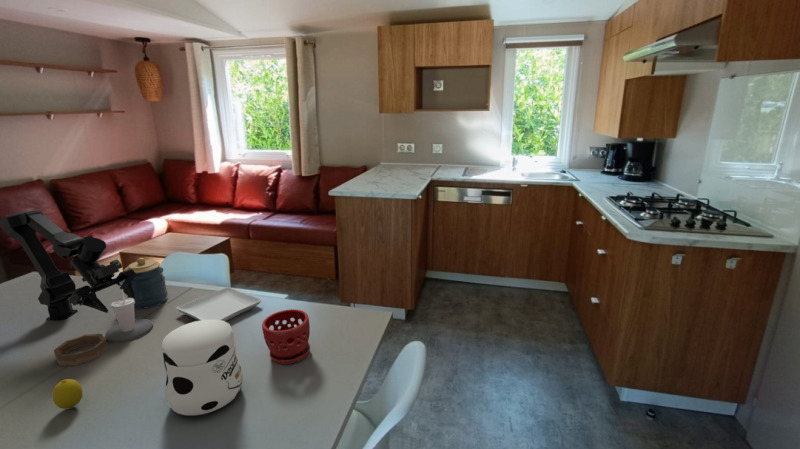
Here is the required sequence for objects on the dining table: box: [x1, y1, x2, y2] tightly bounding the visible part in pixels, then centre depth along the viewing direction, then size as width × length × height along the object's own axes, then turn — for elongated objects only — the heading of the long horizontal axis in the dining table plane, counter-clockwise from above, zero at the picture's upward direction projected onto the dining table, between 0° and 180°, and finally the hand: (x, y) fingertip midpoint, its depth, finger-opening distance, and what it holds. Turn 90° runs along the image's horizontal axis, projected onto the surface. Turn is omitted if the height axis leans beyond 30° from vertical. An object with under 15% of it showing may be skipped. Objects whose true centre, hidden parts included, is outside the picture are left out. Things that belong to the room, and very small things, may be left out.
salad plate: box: [175, 287, 262, 322], centre depth 145 cm, size 21×21×3 cm
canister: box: [123, 257, 169, 310], centre depth 150 cm, size 13×13×18 cm
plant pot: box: [261, 308, 311, 365], centre depth 117 cm, size 13×13×12 cm
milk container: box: [161, 319, 244, 417], centre depth 99 cm, size 17×17×18 cm
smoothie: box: [110, 289, 136, 332], centre depth 130 cm, size 6×6×14 cm
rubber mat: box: [104, 318, 154, 343], centre depth 132 cm, size 13×13×1 cm
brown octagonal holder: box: [53, 333, 109, 367], centre depth 120 cm, size 12×12×3 cm
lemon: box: [51, 378, 83, 410], centre depth 97 cm, size 6×6×8 cm
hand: (121, 305), depth 130 cm, fingers open, 9 cm apart
